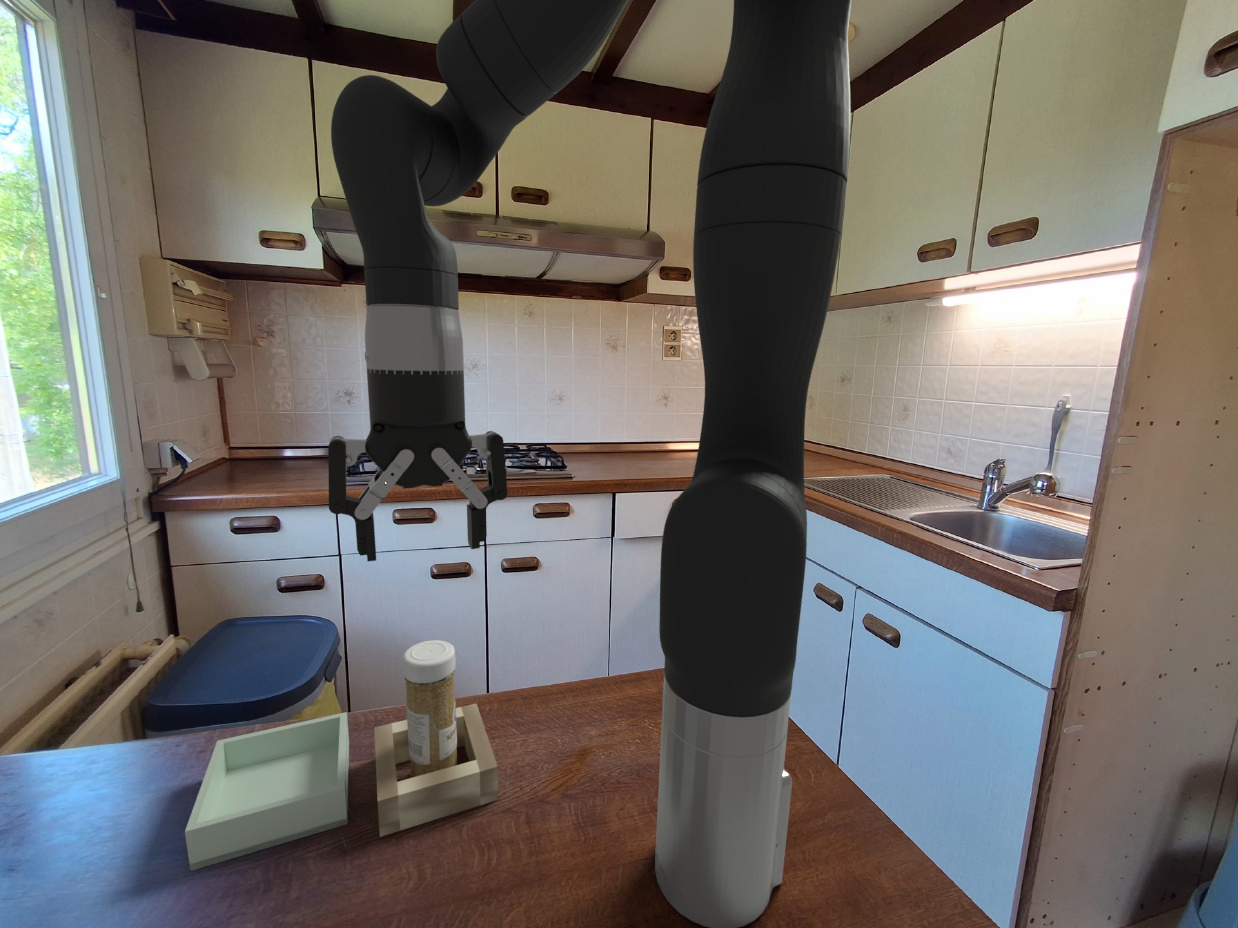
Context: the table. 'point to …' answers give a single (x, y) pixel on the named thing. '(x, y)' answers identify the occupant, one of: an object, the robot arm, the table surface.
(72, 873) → the table surface
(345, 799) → the tray
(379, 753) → the socket block
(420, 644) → the sprinkles bottle
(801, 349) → the robot arm
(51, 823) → the table surface
